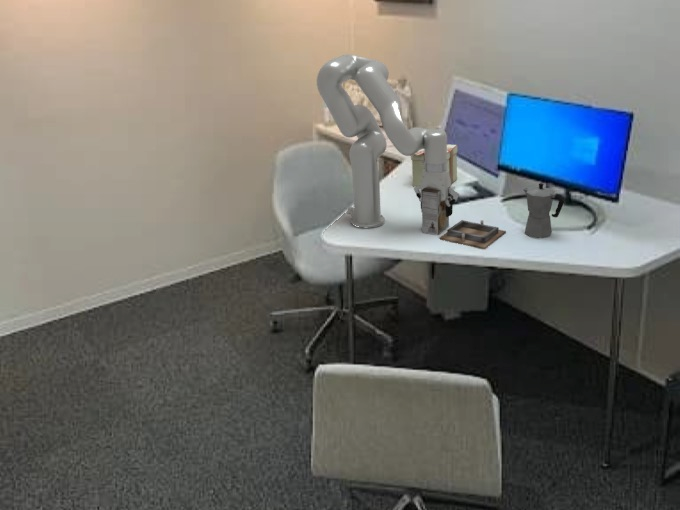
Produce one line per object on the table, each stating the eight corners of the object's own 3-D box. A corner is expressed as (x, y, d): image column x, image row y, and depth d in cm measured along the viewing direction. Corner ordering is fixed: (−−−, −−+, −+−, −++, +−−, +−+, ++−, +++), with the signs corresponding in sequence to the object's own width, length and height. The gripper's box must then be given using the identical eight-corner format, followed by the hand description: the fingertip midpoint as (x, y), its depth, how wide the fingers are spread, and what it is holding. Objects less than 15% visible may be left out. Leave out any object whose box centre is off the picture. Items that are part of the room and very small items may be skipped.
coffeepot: (513, 232, 249) (516, 183, 241) (529, 224, 254) (531, 176, 247) (553, 244, 238) (557, 192, 231) (568, 235, 244) (572, 185, 237)
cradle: (439, 239, 247) (439, 230, 245) (461, 224, 258) (461, 215, 257) (484, 249, 237) (484, 240, 236) (505, 233, 249) (506, 224, 247)
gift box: (416, 175, 312) (415, 136, 304) (458, 178, 305) (458, 138, 297) (403, 188, 297) (402, 147, 290) (447, 191, 290) (447, 150, 283)
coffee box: (432, 223, 260) (432, 181, 253) (449, 226, 257) (449, 183, 250) (421, 232, 253) (421, 189, 246) (438, 235, 250) (438, 191, 243)
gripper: (408, 166, 248) (409, 213, 255) (453, 172, 238) (453, 221, 245) (419, 160, 253) (420, 206, 260) (463, 166, 243) (463, 214, 250)
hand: (436, 213), depth 252 cm, fingers open, 9 cm apart
